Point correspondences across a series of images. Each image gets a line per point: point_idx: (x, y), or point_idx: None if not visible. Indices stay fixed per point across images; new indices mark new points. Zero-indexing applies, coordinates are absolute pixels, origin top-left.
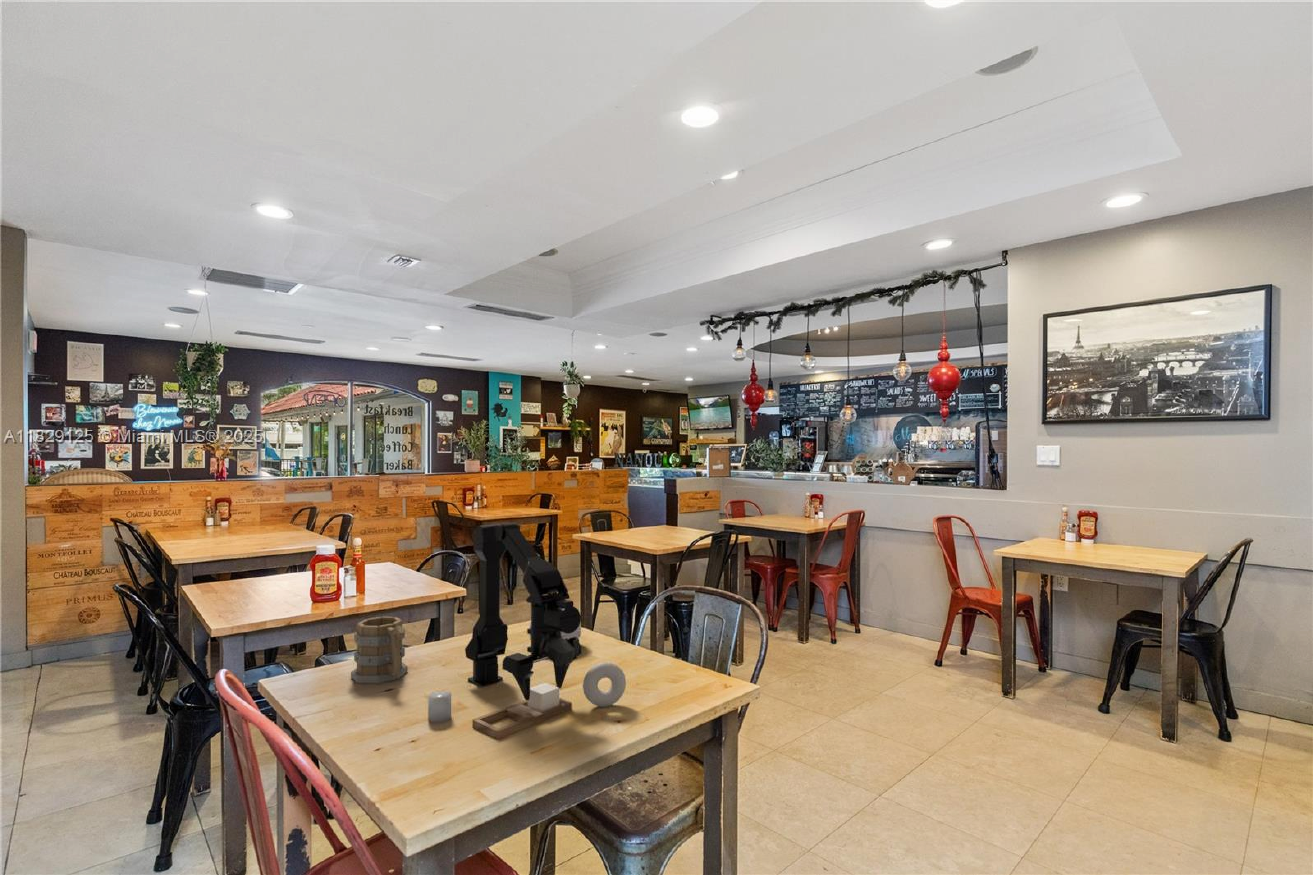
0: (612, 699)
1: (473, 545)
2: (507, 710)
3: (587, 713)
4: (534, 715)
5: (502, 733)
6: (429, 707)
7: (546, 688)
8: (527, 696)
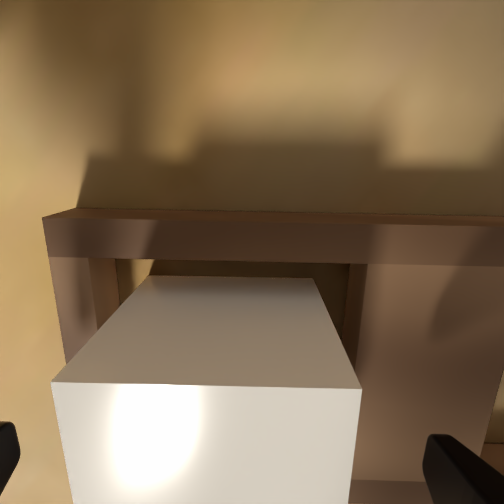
0: None
1: None
2: None
3: (22, 32)
4: (456, 253)
5: None
6: None
7: (188, 475)
8: (494, 469)
